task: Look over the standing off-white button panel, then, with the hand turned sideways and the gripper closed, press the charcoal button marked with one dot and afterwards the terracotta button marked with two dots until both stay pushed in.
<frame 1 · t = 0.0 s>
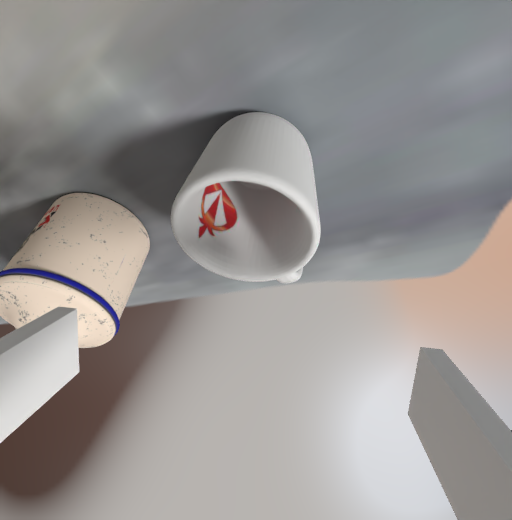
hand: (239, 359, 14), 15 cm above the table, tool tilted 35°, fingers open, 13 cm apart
cup: (270, 167, 26), on the table
teacup with lid: (103, 238, 34), on the table
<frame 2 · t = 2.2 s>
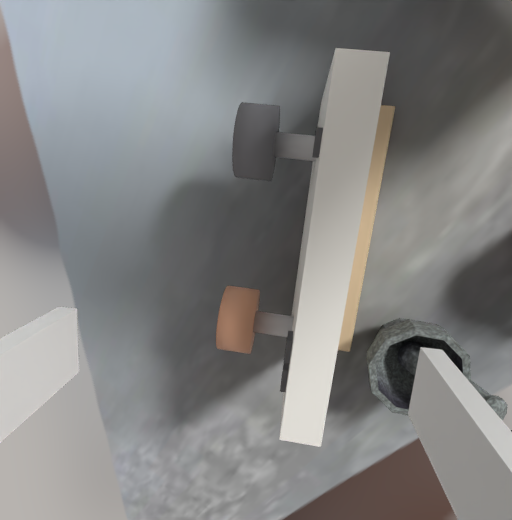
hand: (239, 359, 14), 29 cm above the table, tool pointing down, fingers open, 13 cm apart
mortar and pestle: (407, 343, 43), on the table
charcoal button: (295, 146, 31), point 9 cm above the table, slide at 0.0 cm
button panel: (317, 229, 41), on the table
terracotta button: (273, 324, 35), point 9 cm above the table, slide at 0.0 cm
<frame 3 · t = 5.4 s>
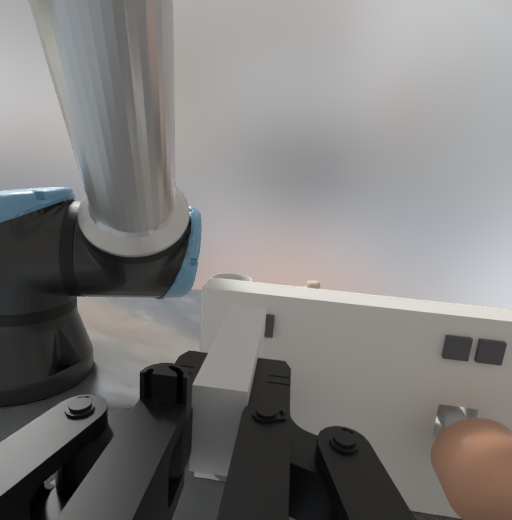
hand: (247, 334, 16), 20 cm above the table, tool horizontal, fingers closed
charcoal button: (253, 409, 30), point 9 cm above the table, slide at 0.0 cm
button panel: (337, 485, 34), on the table
cup: (234, 319, 70), on the table
terracotta button: (464, 438, 28), point 9 cm above the table, slide at 0.0 cm
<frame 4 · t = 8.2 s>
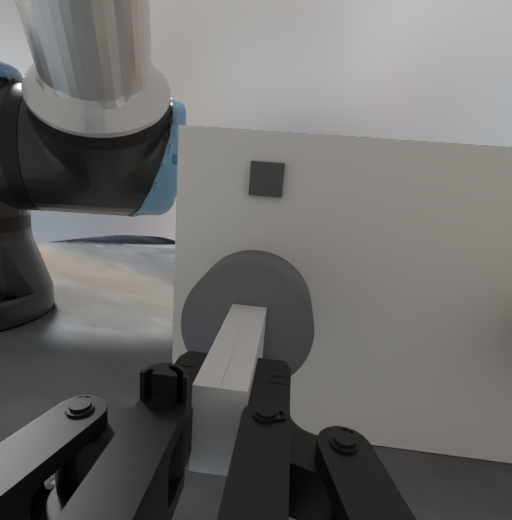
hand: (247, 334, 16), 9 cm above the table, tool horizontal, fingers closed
charcoal button: (257, 295, 21), point 9 cm above the table, slide at 1.3 cm, touching gripper
button panel: (370, 429, 25), on the table
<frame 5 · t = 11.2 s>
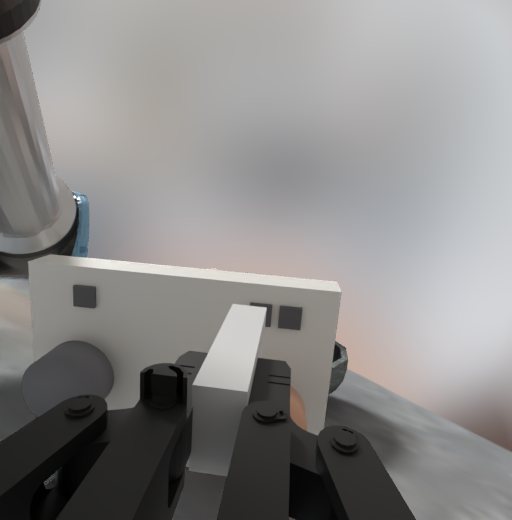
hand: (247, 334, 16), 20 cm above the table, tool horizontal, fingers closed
mortar and pestle: (301, 397, 47), on the table
charcoal button: (90, 363, 33), point 9 cm above the table, slide at 2.2 cm
button panel: (178, 453, 36), on the table
terracotta button: (267, 399, 30), point 9 cm above the table, slide at 0.0 cm
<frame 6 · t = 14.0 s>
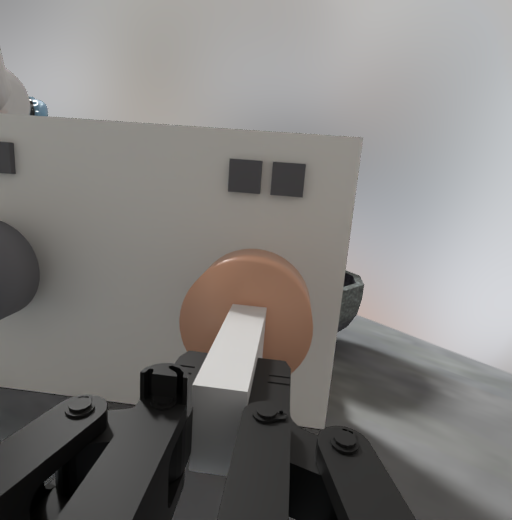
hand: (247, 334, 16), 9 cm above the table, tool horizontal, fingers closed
mortar and pestle: (303, 340, 38), on the table
charcoal button: (13, 261, 24), point 9 cm above the table, slide at 2.2 cm
button panel: (138, 391, 27), on the table
terracotta button: (255, 294, 21), point 9 cm above the table, slide at 0.5 cm, touching gripper
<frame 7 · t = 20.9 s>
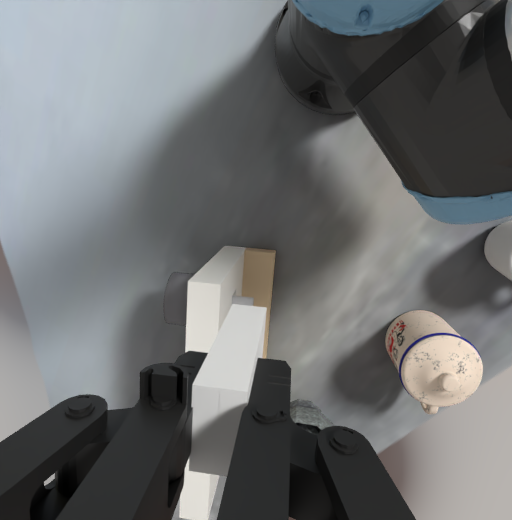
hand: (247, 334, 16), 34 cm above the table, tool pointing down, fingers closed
mortar and pestle: (306, 417, 56), on the table
charcoal button: (212, 301, 43), point 9 cm above the table, slide at 2.2 cm
button panel: (230, 334, 54), on the table
teacup with lid: (416, 348, 52), on the table
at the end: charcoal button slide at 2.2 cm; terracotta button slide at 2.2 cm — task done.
